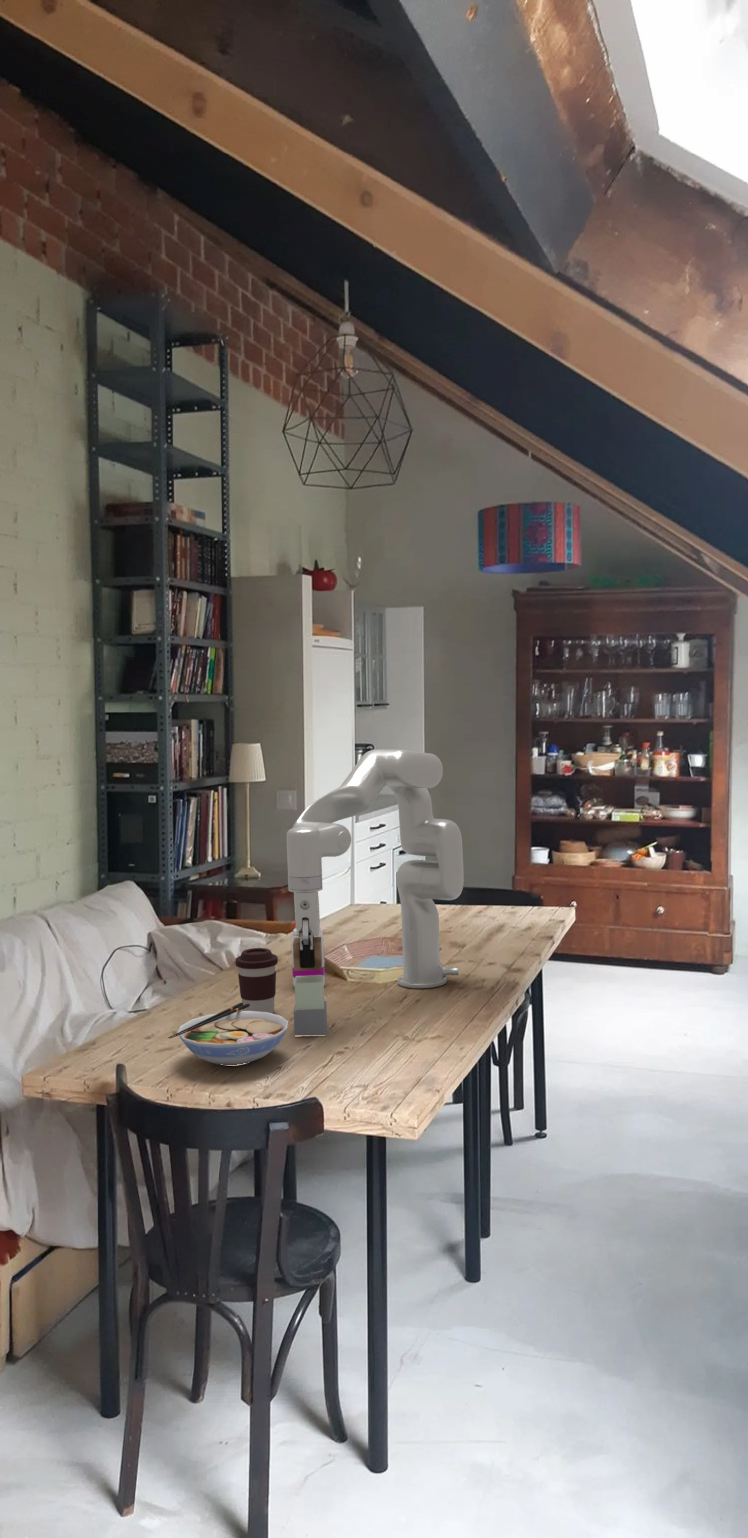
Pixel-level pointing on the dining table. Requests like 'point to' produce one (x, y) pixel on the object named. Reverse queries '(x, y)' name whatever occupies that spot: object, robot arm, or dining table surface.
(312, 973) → the supplement can
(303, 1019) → the tower base
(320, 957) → the walnut cube
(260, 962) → the coffee cup
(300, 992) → the tower mid
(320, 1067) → the dining table surface
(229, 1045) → the ramen bowl
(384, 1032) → the dining table surface
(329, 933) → the dining table surface
